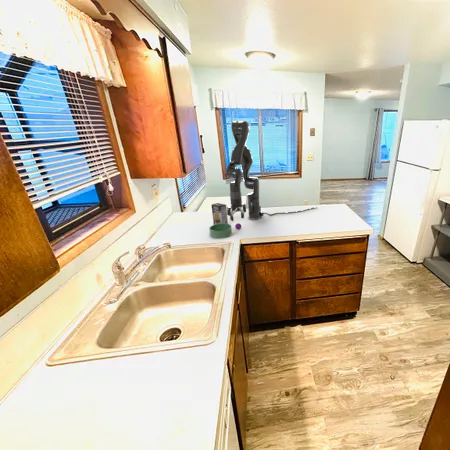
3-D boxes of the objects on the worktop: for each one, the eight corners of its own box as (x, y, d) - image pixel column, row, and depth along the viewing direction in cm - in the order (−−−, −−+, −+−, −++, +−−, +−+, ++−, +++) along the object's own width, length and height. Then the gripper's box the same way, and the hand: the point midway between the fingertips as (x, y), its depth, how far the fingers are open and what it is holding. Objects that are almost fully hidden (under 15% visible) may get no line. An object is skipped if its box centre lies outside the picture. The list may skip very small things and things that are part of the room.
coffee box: (213, 225, 180) (210, 204, 174) (219, 222, 186) (217, 202, 180) (222, 227, 176) (220, 206, 171) (228, 224, 182) (226, 204, 176)
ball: (239, 227, 176) (238, 222, 175) (242, 229, 173) (242, 223, 172) (234, 229, 173) (233, 223, 171) (237, 230, 170) (237, 225, 169)
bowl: (224, 229, 173) (224, 222, 171) (236, 234, 164) (235, 226, 162) (206, 234, 163) (205, 227, 161) (217, 240, 154) (216, 232, 152)
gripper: (230, 200, 157) (231, 223, 163) (247, 196, 168) (248, 218, 173) (223, 198, 162) (225, 220, 168) (241, 195, 172) (242, 216, 178)
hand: (237, 219), depth 170 cm, fingers open, 8 cm apart
